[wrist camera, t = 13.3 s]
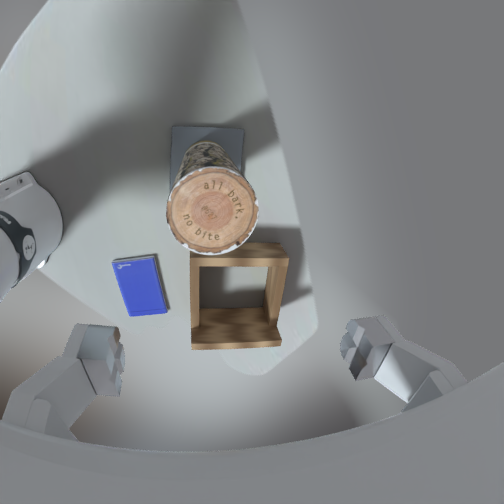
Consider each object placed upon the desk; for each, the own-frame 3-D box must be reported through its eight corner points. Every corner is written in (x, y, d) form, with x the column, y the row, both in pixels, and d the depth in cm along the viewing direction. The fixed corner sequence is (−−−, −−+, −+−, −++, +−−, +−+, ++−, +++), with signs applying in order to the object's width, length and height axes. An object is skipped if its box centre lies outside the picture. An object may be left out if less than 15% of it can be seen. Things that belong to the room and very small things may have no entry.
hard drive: (111, 263, 47) (129, 317, 53) (153, 257, 48) (167, 313, 54) (113, 259, 48) (130, 312, 54) (154, 253, 50) (167, 308, 55)
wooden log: (208, 131, 40) (219, 147, 19) (235, 164, 44) (276, 218, 22) (174, 159, 41) (146, 210, 20) (202, 190, 45) (207, 271, 23)
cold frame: (191, 314, 56) (191, 349, 47) (190, 241, 49) (189, 270, 40) (268, 312, 59) (280, 345, 51) (279, 243, 52) (296, 270, 44)
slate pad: (170, 193, 45) (169, 195, 44) (172, 126, 40) (172, 126, 39) (237, 195, 47) (237, 197, 46) (243, 129, 42) (244, 129, 41)
